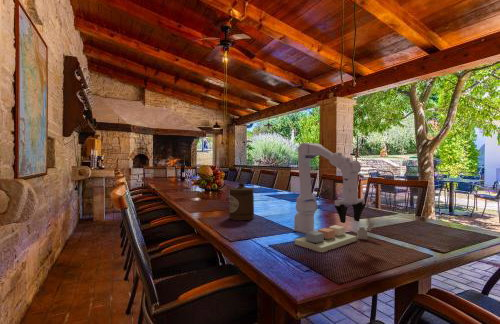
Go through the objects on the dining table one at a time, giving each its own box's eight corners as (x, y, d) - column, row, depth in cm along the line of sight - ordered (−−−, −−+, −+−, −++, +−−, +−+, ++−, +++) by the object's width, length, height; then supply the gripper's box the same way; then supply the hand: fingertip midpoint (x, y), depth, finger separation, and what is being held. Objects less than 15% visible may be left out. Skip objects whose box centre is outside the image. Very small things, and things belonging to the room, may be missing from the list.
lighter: (357, 238, 127) (357, 221, 127) (357, 237, 129) (357, 220, 128) (374, 240, 125) (374, 222, 125) (373, 238, 127) (373, 221, 127)
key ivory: (328, 233, 127) (328, 226, 127) (335, 231, 130) (335, 225, 130) (338, 235, 123) (338, 228, 123) (344, 233, 126) (344, 227, 126)
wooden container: (226, 216, 174) (226, 181, 173) (249, 215, 178) (249, 180, 178) (232, 221, 160) (232, 183, 159) (257, 220, 164) (257, 182, 164)
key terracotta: (317, 236, 122) (317, 229, 122) (324, 234, 125) (324, 227, 125) (327, 239, 118) (327, 231, 118) (334, 236, 121) (334, 230, 121)
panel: (294, 244, 119) (294, 239, 119) (329, 234, 135) (329, 229, 135) (321, 252, 108) (321, 247, 108) (356, 240, 124) (356, 236, 124)
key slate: (306, 239, 117) (306, 232, 117) (313, 237, 120) (313, 230, 120) (315, 242, 113) (315, 235, 113) (323, 240, 116) (323, 233, 116)
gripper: (343, 191, 110) (343, 225, 111) (370, 189, 116) (370, 222, 117) (331, 189, 117) (331, 221, 117) (357, 187, 123) (357, 218, 123)
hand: (349, 221), depth 117 cm, fingers open, 7 cm apart
